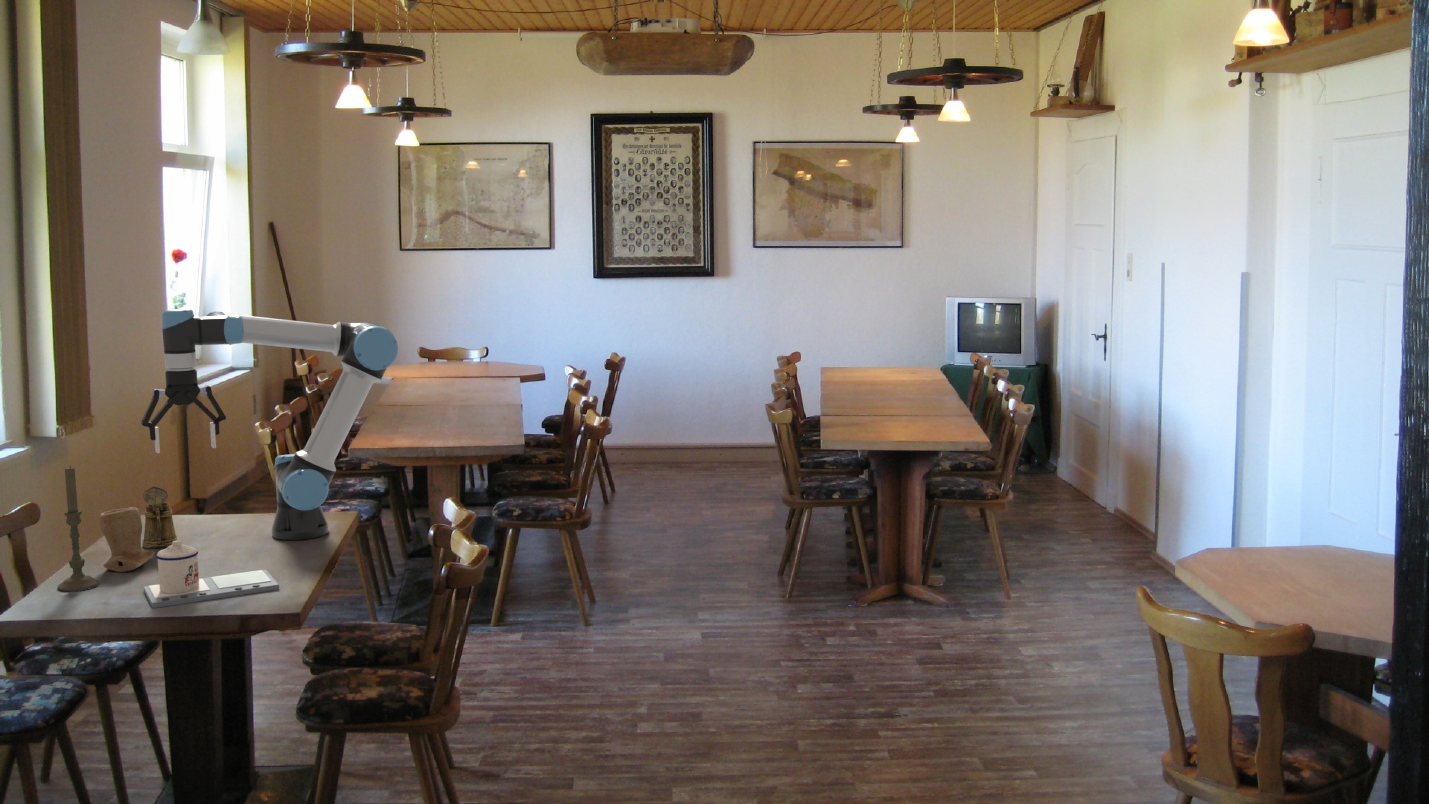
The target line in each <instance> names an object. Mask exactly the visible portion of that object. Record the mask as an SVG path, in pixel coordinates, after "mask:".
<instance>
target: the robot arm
mask: <svg viewBox="0 0 1429 804" xmlns="http://www.w3.org/2000/svg"><path fill="white" fill-rule="evenodd" d="M161 325H162V326H161V329H162V330H161V332H162V343H163V355H164V368H165V369H167V370H165V373H164V374H165V388H164V389H158V388H154V389H153V390H152V398H151V401H150V402H149V405H148V406H147V408H146V410H145V413H144V415H143V417H142V419H141V422H140V424H141V426H143V427H146V428H148V430H149V439H150V440H151V441H154V448H155V449H154V450H155V453H156V454H161V449H160V433H159V427H158V426H157V425H158V424H159V422H160V421H161V420H162V419H163V418H164V416H165V415H166V414H167V413H168V412H169V410H170V409H171V408H172V407H173V406H174V405H175V406H183V405H186V406H188V405H189V406H190V405H191V404H195V405H196V406H197V407H198V408H199V409H200V410H201V411H202V412H204V414H205V415H207V417H209V419H210V420H212V421H211V422H210V423H209V429H210V445H211V446H210V447H211V448H212V449H217V439H216V436H218V435H219V434H220V432H221V431H220V423H221V422H222V421H225V420H226V419H227V416H226V414H225V413H224V412H223V409H222V408H221V406H220V404H219V403H218V401H217V399H216V398H215V397H214V395H213V392H212V387H211V386H209V385H208V384H207V385H205V386H201V387H199V385H198V383H199V382H198V370H197V369H195V368H196V367H197V355H196V354H197V353H196V352H197V351H196V346H215V345H216V346H218V345H220V346H221V345H222V346H223V345H229V346H231V345H235V344H237V345H239V344H243V343H244V344H250V345H260V346H261V345H262V346H270V347H272V346H273V347H280V348H292V349H300V350H310V351H318V352H319V351H321V352H328V353H332V354H333V356H334V357H343V358H342V359H341V361H340V363H341V367H342V372H341V373H340V376H339V378H338V380H337V382H336V384H335V386H334V388H333V390H332V392H331V394H330V396H329V398H328V400H327V402H326V404H325V407H324V408H323V410H322V411H321V412H322V413H321V414H320V416H319V419H318V420H317V422H316V424H315V426H314V428H313V430H312V432H311V435H310V436H309V438H308V440H307V442H306V445H305V446H304V447H303V449H300V450H298V451H296V452H295V453H291V454H283V455H282V454H280V455H277V456H276V457H275V459H274V466H273V467H274V469H275V487H276V488H275V489H276V504H277V505H276V507H277V508H276V511H275V512H276V513H275V516H274V520H273V523H272V527H271V535H272V538H274V539H277V540H284V541H285V540H286V541H299V540H309V539H314V538H319V537H322V536H325V535H327V534H328V533H329V523H328V521H327V518H326V516H325V513H324V511H323V508H322V506H321V505H322V504H323V503H324V502H325V501H326V499H327V497H328V495H329V491H330V486H329V485H330V483H331V482H332V479H333V477H334V475H335V473H336V471H337V468H336V465H335V460H336V458H337V456H338V455H339V453H340V450H341V449H342V447H343V444H344V442H345V440H346V438H347V437H348V435H349V432H350V430H351V428H352V426H353V424H354V422H355V420H356V419H357V416H358V415H359V413H360V410H361V408H362V406H363V404H364V403H365V400H366V398H367V397H368V394H369V393H370V390H371V388H372V386H373V384H375V383H377V382H380V381H382V378H383V377H384V375H385V373H386V371H387V369H388V368H389V367H390V366H392V364H393V363H394V362H395V360H396V359H397V357H398V352H399V347H398V345H399V344H398V341H397V338H396V337H395V335H394V333H392V331H390V329H388V328H387V327H385V326H382V325H379V324H377V323H374V322H344V321H343V322H342V321H337V322H336V323H335V324H328V323H327V324H326V323H320V322H318V323H316V322H310V321H309V322H307V321H298V320H292V319H291V320H290V319H281V318H272V317H265V316H264V317H263V316H262V317H261V316H252V315H242V314H235V313H234V314H233V313H227V312H226V313H225V312H222V311H212V312H209V313H208V314H207V315H205V316H204V315H203V316H199V315H198V316H197V315H195V314H194V311H193V310H192V309H191V308H170V309H165V310H164V311H163V312H162V313H161ZM201 392H202V394H203V395H206V397H207V400H208V401H209V402H210V404H211V405H212V407H213V408H214V411H215V412H216V413H217V415H218V416H216V415H215V414H214V413H213V412H212V411H210V410H209V409H208V407H206V406H205V405H204V404H203V403H202V402H201V401H200V400H199V398H198V396H199V395H200V393H201ZM163 395H165V396H166V397H167V398H168V399H167V400H166V401H165V403H164V404H163V405H162V407H161V408H160V409H159V410H158V412H157V413H156V414H155V415H154V417H153V418H152V419H151V417H152V415H153V413H154V411H155V409H156V406H157V405H158V402H159V399H161V398H163ZM326 533H327V534H326Z"/></svg>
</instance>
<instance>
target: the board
mask: <svg viewBox="0 0 1429 804" xmlns="http://www.w3.org/2000/svg"><path fill="white" fill-rule="evenodd" d="M278 590H280V584H279V582H278V581H276V579H275V578H274V577H273V576H272V575H271V574H270V573H269V572H268V571H267V570H266V569H257V570H252V571H251V570H250V571H246V572H244V571H243V572H237V573H230V574H223V575H216V576H209V577H203V578H200V577H199V587H198V588H197V589H195V590H193V591H190V592H185V593H178V594H167V593H163V592H161V591H160V586H159V584H151V585H146V586H143V592H144V595H145V596H146V598H147V600H148V602H149V605H150V606H151V608H153V609H157V608H162V607H171V606H176V605H182V604H189V603H196V602H197V603H198V602H204V601H209V600H216V599H222V598H228V597H229V598H230V597H235V596H243V595H244V596H245V595H249V594H256V593H257V594H258V593H262V592H270V591H278Z"/></svg>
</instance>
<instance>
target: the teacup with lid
mask: <svg viewBox="0 0 1429 804" xmlns="http://www.w3.org/2000/svg"><path fill="white" fill-rule="evenodd" d="M198 554H199V549H197V548H196V547H194V546H189V545H186V544H184V543H182V541H181V540H178V539H177V540H176V541H173V542H172V545H171V546H168V547H165V548H162V549H161V550H159V551H158V552H157V554H156V558H157V567H158V568H157V569H158V583H159V586H160V591H161V592H163V593H167V594H178V593H185V592H190V591H193V590H195V589H197V588H198V587H199V579H200V576H199V559H198Z"/></svg>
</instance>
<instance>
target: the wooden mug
mask: <svg viewBox="0 0 1429 804" xmlns="http://www.w3.org/2000/svg"><path fill="white" fill-rule="evenodd" d="M142 499H143V500H144V502H145V503H147V504H146V508H145V510H144V518H145V519H144V520H145V521H144V530H143V539H142V548H145V549H166V548H167V547H168V546H171V545H172V542H173V541H176V540H178V536H177V533H176V529H175V524H174V520H173V519H174V518H173V514H174V513H173V509H172V508H171V504H170V502H167V501H168V499H169V496H168V492H167V491H166V490H165V489H163V488H160V487H156V486H153V487H150V488H149V489H147V490H145V491H144V492H143V494H142Z"/></svg>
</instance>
